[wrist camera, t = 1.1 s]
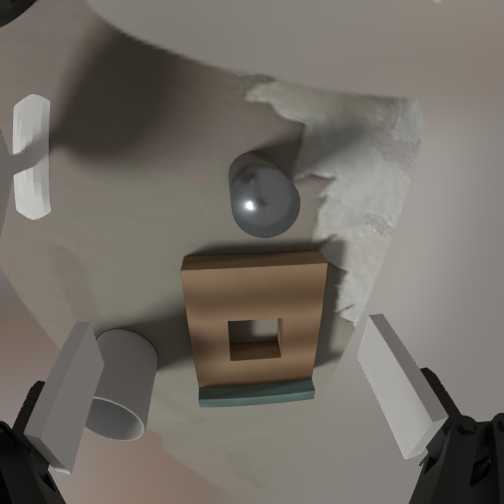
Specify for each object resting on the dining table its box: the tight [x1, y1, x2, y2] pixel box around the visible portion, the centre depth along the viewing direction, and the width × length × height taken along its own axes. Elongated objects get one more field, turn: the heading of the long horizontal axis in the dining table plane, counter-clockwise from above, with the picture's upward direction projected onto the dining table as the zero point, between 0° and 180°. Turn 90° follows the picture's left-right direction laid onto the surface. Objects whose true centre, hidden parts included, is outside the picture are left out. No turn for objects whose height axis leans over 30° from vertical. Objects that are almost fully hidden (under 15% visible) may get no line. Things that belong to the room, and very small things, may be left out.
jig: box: [181, 250, 328, 408], centre depth 34 cm, size 18×14×5 cm
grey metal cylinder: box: [228, 152, 300, 238], centre depth 25 cm, size 4×4×10 cm
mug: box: [84, 329, 158, 441], centre depth 32 cm, size 12×8×11 cm
